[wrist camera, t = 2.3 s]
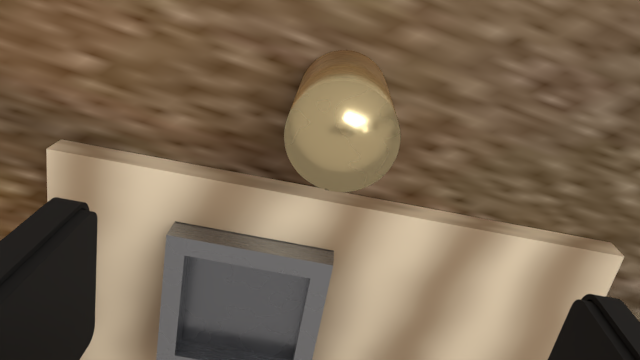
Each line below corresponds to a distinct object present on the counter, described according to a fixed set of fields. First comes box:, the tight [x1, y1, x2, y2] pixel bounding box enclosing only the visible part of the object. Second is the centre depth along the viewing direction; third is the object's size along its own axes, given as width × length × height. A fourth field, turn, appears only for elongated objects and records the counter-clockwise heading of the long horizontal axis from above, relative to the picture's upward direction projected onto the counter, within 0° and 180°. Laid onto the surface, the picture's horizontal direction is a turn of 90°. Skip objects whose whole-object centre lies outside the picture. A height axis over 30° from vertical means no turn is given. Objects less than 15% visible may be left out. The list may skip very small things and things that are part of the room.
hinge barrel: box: [284, 50, 401, 192], centre depth 24 cm, size 4×4×7 cm
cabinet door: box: [46, 140, 624, 360], centre depth 30 cm, size 30×14×3 cm, turn 80°
